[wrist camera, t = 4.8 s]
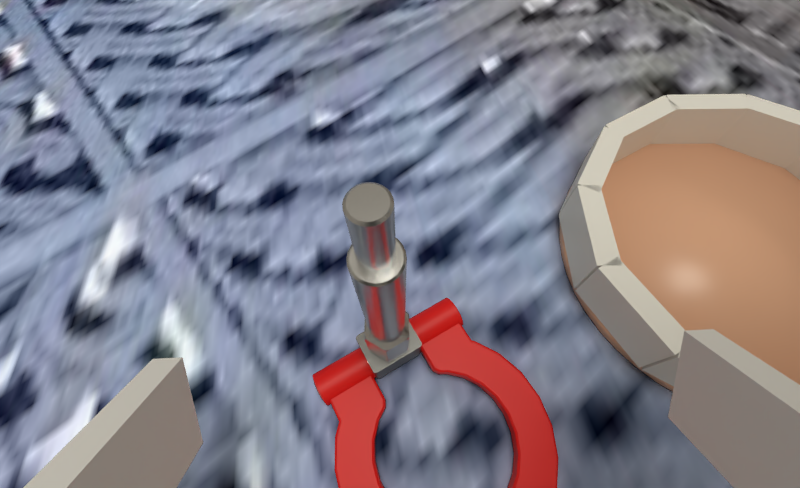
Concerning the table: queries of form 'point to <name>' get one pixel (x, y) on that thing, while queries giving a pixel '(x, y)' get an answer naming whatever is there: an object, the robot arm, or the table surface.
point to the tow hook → (402, 341)
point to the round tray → (690, 230)
